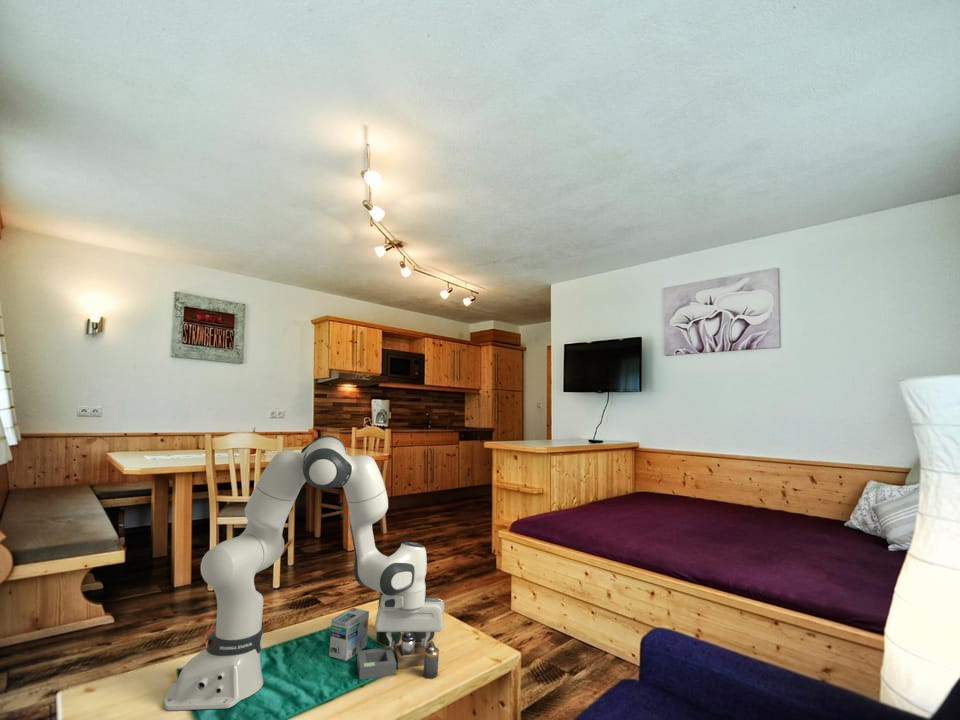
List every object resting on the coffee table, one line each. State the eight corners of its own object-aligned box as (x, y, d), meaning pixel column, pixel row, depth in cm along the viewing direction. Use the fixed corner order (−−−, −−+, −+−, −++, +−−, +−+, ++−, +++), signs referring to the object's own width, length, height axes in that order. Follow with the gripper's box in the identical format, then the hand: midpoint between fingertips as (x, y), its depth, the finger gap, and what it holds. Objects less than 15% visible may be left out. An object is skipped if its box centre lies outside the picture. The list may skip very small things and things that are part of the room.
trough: (397, 668, 139) (398, 657, 139) (393, 655, 146) (394, 645, 147) (438, 663, 142) (438, 653, 143) (432, 651, 150) (432, 640, 150)
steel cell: (403, 663, 141) (405, 637, 142) (398, 657, 144) (399, 632, 145) (416, 660, 143) (417, 634, 144) (410, 654, 146) (412, 629, 147)
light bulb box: (346, 661, 142) (349, 623, 143) (328, 656, 144) (330, 618, 145) (367, 646, 151) (369, 610, 153) (350, 641, 154) (352, 606, 155)
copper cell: (426, 680, 133) (428, 652, 134) (421, 672, 137) (422, 646, 138) (439, 677, 135) (441, 650, 136) (434, 669, 139) (435, 643, 140)
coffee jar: (402, 645, 153) (405, 584, 155) (376, 647, 151) (380, 585, 153) (399, 632, 162) (402, 574, 164) (375, 633, 160) (379, 575, 163)
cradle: (359, 679, 132) (360, 667, 133) (356, 661, 142) (357, 650, 142) (395, 674, 136) (396, 662, 136) (390, 657, 145) (391, 646, 145)
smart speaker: (413, 646, 153) (413, 633, 153) (403, 635, 160) (403, 622, 161) (438, 641, 157) (439, 628, 158) (427, 630, 165) (428, 617, 165)
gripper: (444, 594, 150) (442, 641, 148) (378, 593, 148) (375, 641, 146) (445, 601, 143) (442, 651, 142) (375, 601, 142) (372, 651, 140)
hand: (408, 646), depth 144 cm, fingers open, 8 cm apart
